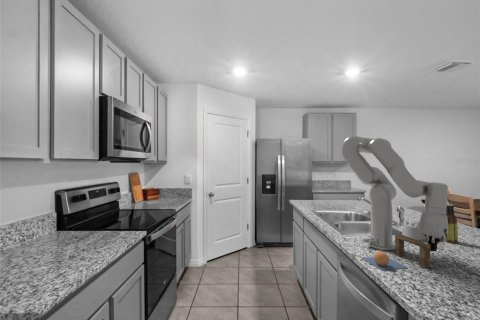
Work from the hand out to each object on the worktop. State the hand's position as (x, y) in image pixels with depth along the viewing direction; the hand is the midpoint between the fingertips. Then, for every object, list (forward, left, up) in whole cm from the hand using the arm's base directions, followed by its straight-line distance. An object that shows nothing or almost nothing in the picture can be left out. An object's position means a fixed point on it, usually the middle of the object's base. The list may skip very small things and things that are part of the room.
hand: (432, 250), depth 109 cm
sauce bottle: (+30, +17, -3) cm, 35 cm away
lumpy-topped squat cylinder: (+18, +27, -4) cm, 33 cm away
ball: (-29, -3, 0) cm, 29 cm away
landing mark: (-26, -1, -3) cm, 26 cm away
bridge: (-12, -1, -3) cm, 13 cm away
